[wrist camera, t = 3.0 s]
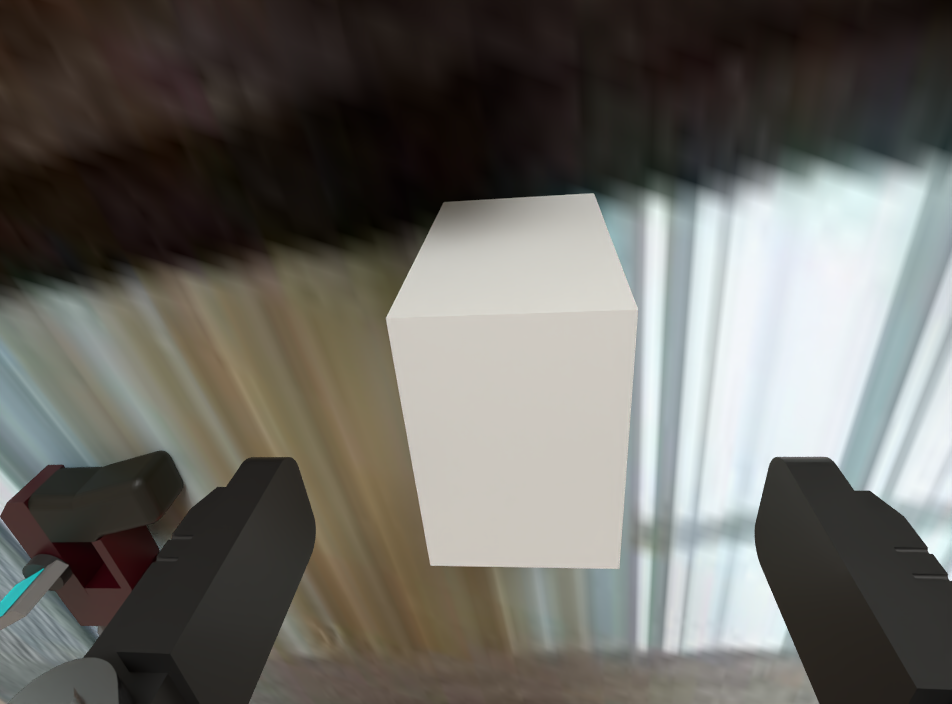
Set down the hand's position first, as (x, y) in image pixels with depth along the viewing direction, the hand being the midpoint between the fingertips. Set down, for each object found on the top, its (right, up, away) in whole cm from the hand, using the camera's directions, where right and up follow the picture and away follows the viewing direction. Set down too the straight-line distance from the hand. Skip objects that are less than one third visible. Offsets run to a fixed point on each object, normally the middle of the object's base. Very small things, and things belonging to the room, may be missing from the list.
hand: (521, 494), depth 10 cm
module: (+1, +4, +7) cm, 8 cm away
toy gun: (-13, -6, +15) cm, 21 cm away
